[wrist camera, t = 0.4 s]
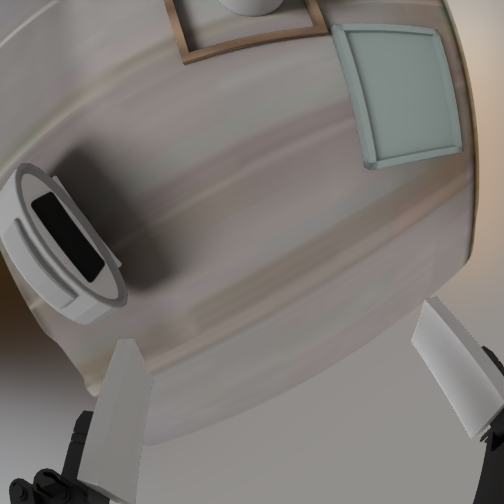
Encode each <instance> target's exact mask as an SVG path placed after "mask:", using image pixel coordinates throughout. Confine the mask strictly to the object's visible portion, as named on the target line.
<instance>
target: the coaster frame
mask: <svg viewBox="0 0 504 504" xmlns="http://www.w3.org/2000/svg"><path fill="white" fill-rule="evenodd" d="M304 2H305V4H306V7H307V9H308V12H309V14H310V17H311V20H312V22H313V25H314V27H306V28H297V29H289V30H282V31H276V32H270V33H264V34H259V35H254V36H249V37H245V38H240V39H236V40H232V41H228V42H224V43H220V44H216V45H213V46H209V47H206V48H202V49H199V50H196V51H193V52H189V49H188V46H187V43H186V40H185V37H184V33H183V30H182V27H181V24H180V21H179V18H178V14H177V11H176V8H175V5H174V2H173V0H164V3H165V6H166V9H167V13H168V16H169V19H170V22H171V26H172V29H173V32H174V35H175V39H176V42H177V45H178V48H179V52H180V55H181V58H182V61H183V63H184V65H186V64H189V63H192V62H195V61H198V60H202V59H205V58H208V57H212V56H215V55H219V54H222V53H226V52H230V51H234V50H238V49H242V48H246V47H251V46H256V45H261V44H266V43H271V42H277V41H283V40H289V39H296V38H304V37H313V36H323V35H326V34H327V33H328V30H327V27H326V25H325V22H324V19H323V16H322V14H321V11H320V9H319V6H318V4H317V1H316V0H304Z"/></svg>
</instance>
